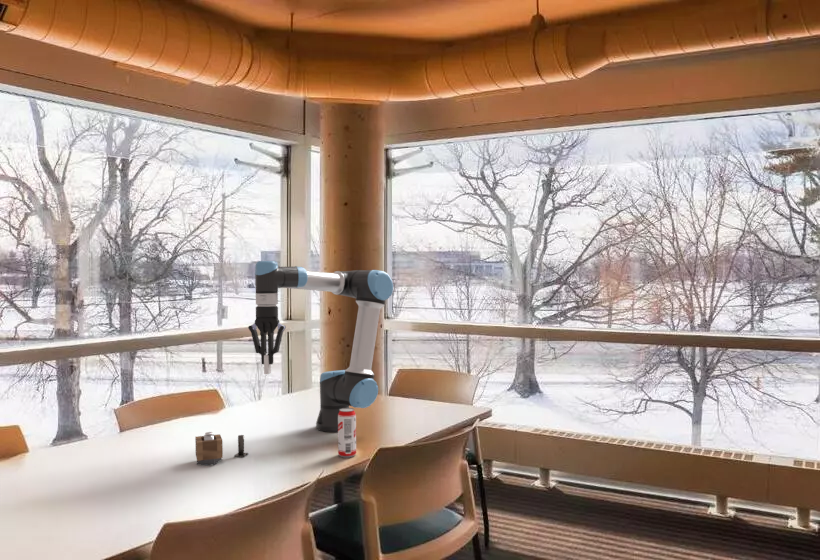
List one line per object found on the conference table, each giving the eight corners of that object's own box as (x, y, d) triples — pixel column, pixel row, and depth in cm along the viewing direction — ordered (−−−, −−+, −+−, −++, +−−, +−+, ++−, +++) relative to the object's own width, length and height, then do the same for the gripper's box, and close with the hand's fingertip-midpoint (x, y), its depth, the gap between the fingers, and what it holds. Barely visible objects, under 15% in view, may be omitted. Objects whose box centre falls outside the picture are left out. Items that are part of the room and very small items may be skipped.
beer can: (339, 458, 222) (339, 412, 221) (336, 453, 228) (336, 408, 227) (357, 457, 223) (357, 410, 223) (354, 452, 229) (354, 407, 229)
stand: (238, 454, 228) (238, 434, 228) (248, 454, 227) (248, 434, 227) (234, 457, 224) (234, 436, 224) (244, 457, 224) (244, 437, 224)
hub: (204, 459, 222) (204, 430, 222) (221, 459, 221) (221, 430, 221) (196, 464, 216) (196, 435, 216) (214, 465, 215) (213, 435, 215)
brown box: (195, 454, 221) (195, 436, 221) (220, 451, 224) (219, 434, 224) (197, 460, 214) (197, 442, 213) (222, 458, 217) (222, 440, 216)
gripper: (244, 306, 223) (245, 375, 223) (281, 306, 221) (282, 375, 222) (252, 304, 230) (253, 371, 231) (288, 304, 228) (289, 372, 229)
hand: (267, 373), depth 226 cm, fingers closed
